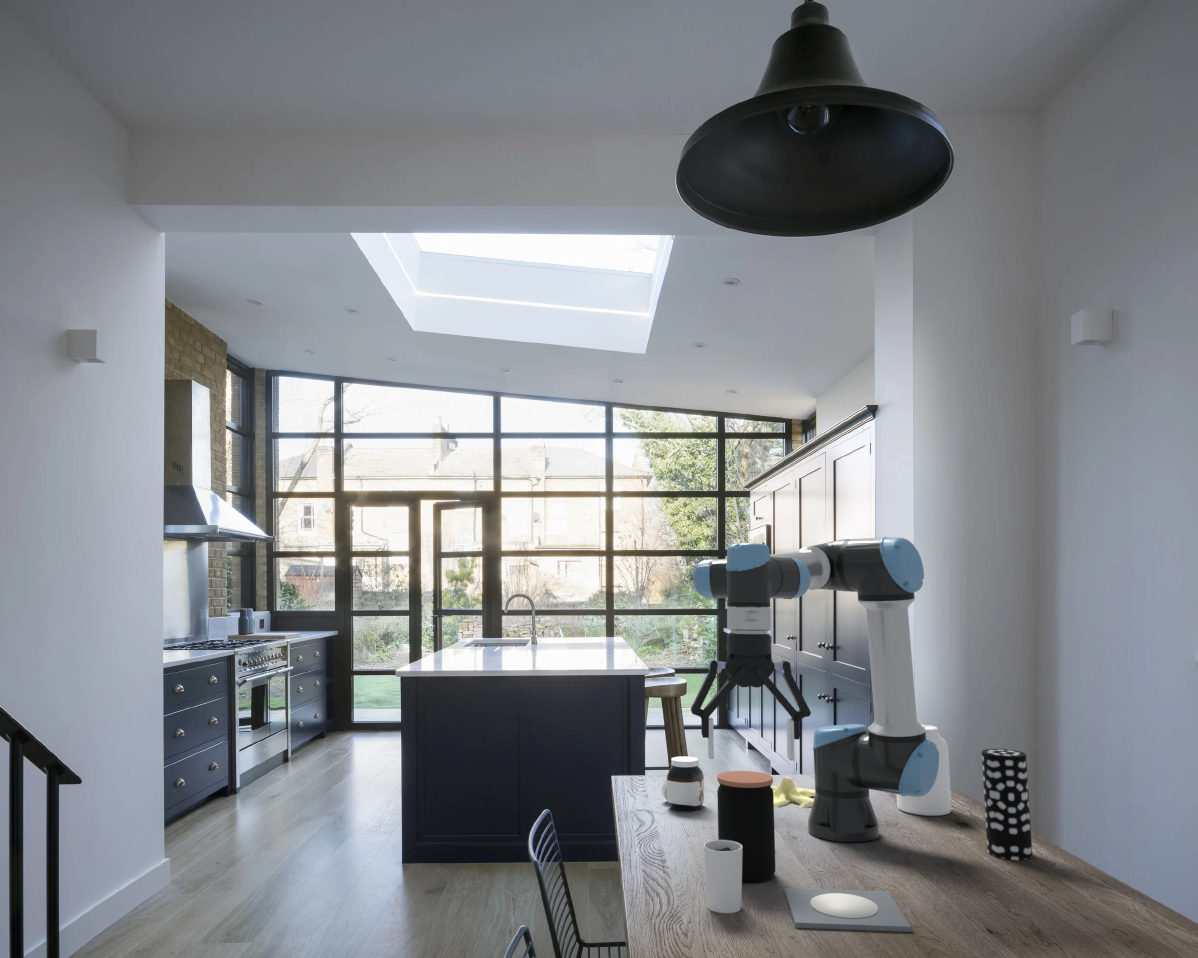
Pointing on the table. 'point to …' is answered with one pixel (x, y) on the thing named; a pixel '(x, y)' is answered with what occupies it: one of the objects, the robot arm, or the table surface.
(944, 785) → the white bottle
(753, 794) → the coffee jar
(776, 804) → the cloth
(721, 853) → the white cup
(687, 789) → the spread jar
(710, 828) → the table surface
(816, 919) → the board
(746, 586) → the robot arm
